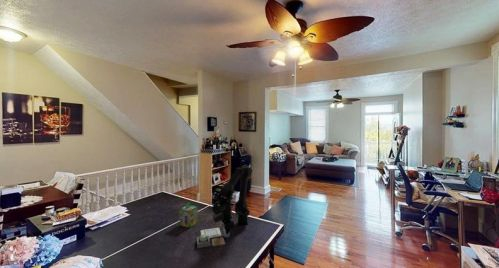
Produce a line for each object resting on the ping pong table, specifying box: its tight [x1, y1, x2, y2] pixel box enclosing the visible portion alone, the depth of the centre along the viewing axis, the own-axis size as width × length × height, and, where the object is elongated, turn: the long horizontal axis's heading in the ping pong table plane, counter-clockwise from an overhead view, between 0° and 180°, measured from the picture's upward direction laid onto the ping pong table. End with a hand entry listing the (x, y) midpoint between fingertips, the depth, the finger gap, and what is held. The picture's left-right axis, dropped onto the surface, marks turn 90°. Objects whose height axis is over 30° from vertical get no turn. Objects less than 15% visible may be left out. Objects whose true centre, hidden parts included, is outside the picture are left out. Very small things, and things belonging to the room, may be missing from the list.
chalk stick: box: [223, 228, 230, 238], centre depth 125 cm, size 4×4×8 cm
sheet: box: [200, 227, 223, 239], centre depth 128 cm, size 12×10×1 cm
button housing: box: [196, 235, 211, 249], centre depth 117 cm, size 7×7×2 cm
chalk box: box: [178, 201, 199, 229], centre depth 140 cm, size 9×9×15 cm
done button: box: [199, 234, 207, 243], centre depth 117 cm, size 4×4×3 cm
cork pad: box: [210, 236, 226, 247], centre depth 119 cm, size 7×7×1 cm
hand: (226, 232), depth 125 cm, fingers closed on chalk stick, 4 cm apart
